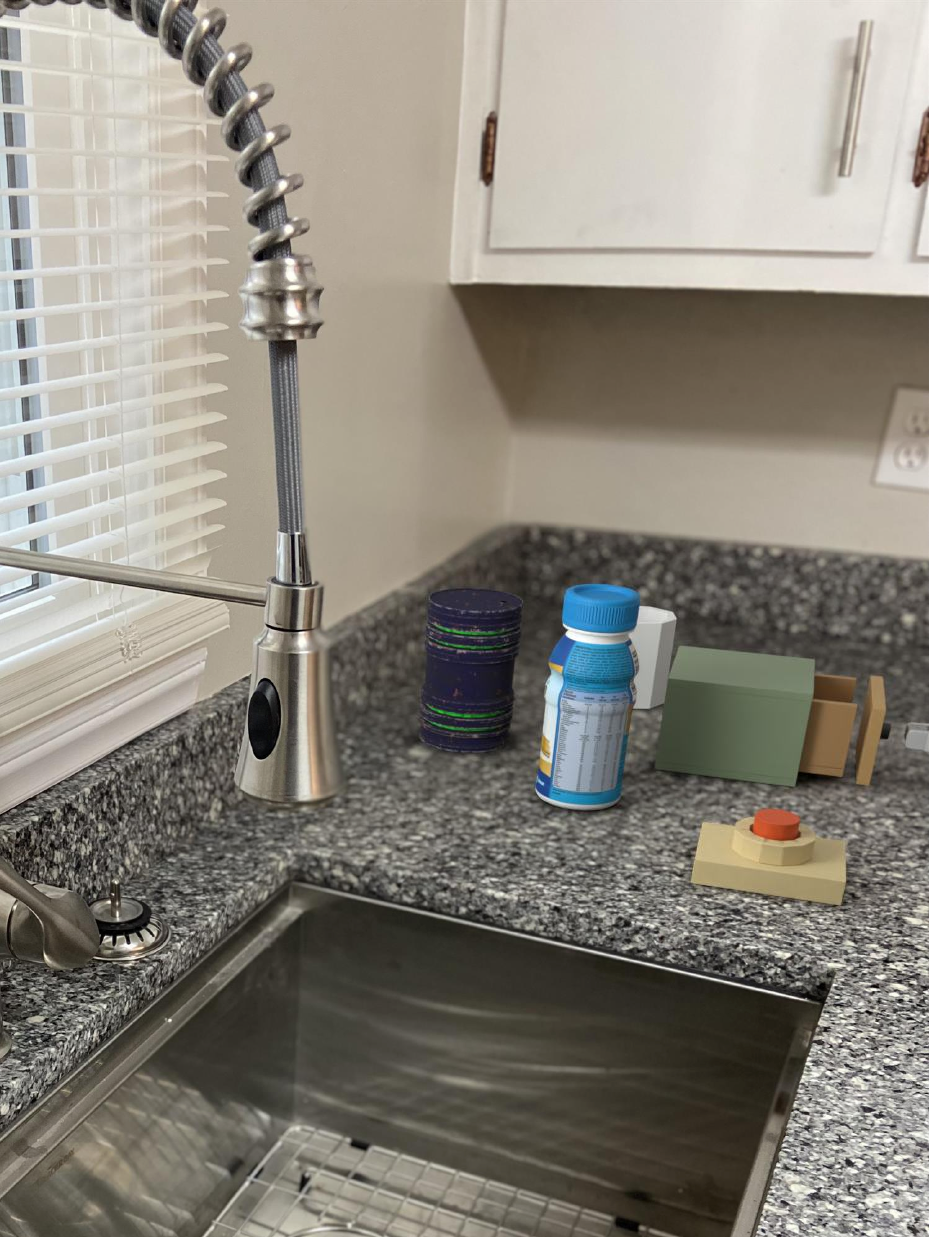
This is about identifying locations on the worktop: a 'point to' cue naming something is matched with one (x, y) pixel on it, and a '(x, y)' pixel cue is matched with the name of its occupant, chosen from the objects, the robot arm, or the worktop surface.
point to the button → (776, 825)
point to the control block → (771, 863)
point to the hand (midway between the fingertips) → (905, 734)
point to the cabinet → (736, 715)
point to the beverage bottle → (589, 699)
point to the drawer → (843, 727)
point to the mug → (653, 654)
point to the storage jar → (469, 669)
